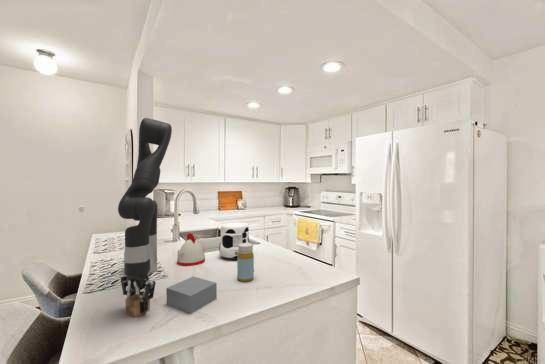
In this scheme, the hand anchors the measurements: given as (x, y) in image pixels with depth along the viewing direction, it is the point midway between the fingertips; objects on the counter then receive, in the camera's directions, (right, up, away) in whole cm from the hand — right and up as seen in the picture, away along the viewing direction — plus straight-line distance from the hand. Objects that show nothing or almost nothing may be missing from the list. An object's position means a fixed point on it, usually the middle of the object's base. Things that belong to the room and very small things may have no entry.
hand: (137, 309), depth 82 cm
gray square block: (+15, -1, +7) cm, 17 cm away
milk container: (+23, 0, +59) cm, 63 cm away
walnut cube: (0, -1, 0) cm, 1 cm away
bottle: (+32, 0, +27) cm, 42 cm away
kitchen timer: (+1, 0, +50) cm, 50 cm away
